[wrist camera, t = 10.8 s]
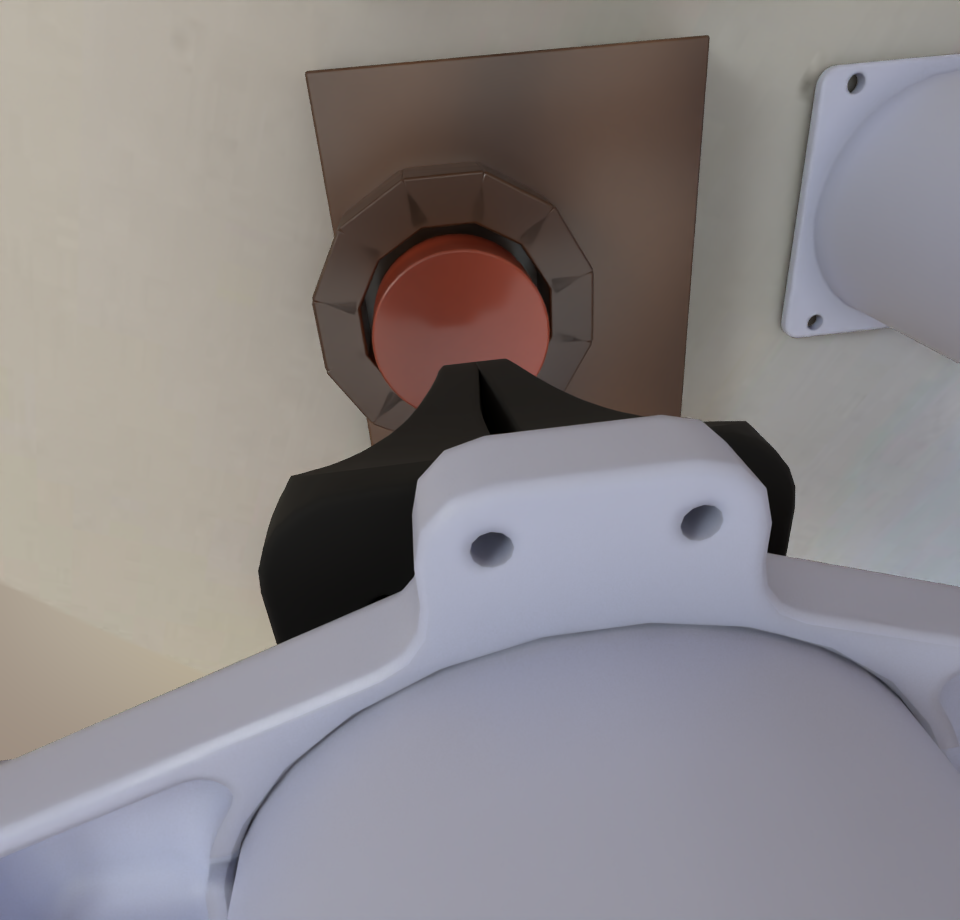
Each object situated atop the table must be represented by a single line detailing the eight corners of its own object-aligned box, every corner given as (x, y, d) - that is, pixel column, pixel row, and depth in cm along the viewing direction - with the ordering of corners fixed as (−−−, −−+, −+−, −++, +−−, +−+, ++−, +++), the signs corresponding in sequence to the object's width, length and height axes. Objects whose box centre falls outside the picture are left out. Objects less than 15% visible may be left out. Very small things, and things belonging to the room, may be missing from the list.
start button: (534, 224, 18) (547, 239, 16) (540, 383, 20) (552, 409, 18) (361, 242, 17) (357, 259, 16) (386, 401, 20) (385, 429, 18)
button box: (679, 37, 19) (742, 31, 16) (656, 425, 25) (698, 483, 22) (289, 72, 18) (264, 74, 15) (362, 460, 24) (356, 525, 21)
